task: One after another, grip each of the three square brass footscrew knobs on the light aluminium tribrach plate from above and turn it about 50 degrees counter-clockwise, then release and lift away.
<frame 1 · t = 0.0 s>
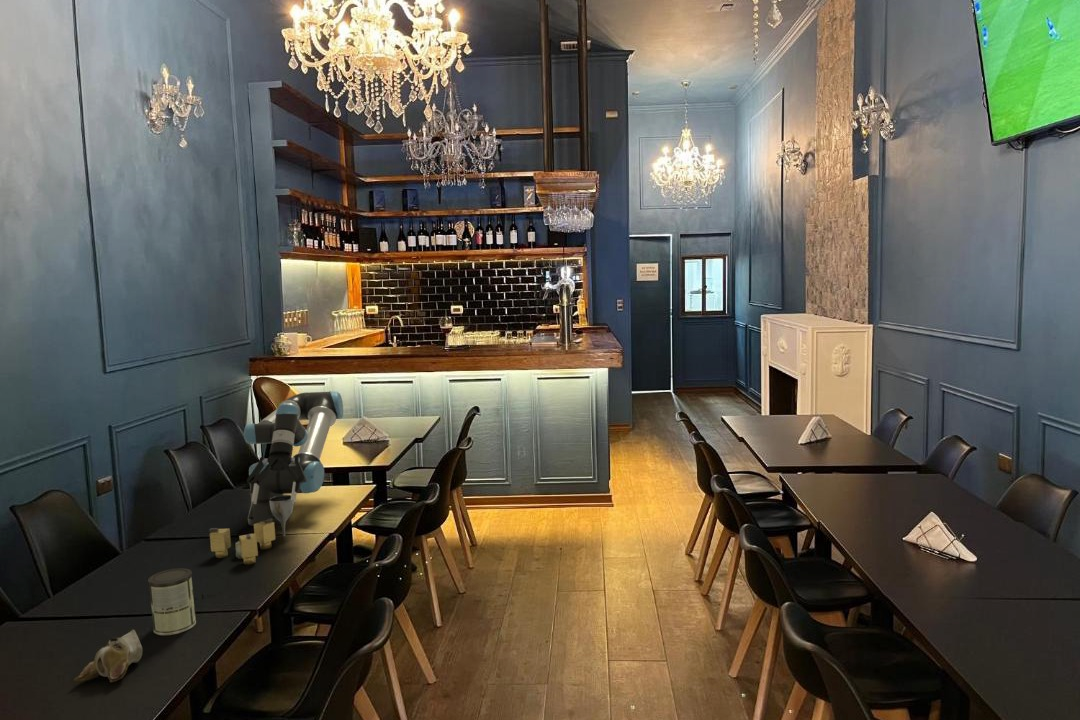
hand: (273, 502, 265), 15 cm above the table, tool tilted 35°, fingers open, 13 cm apart
ceramic sculpture: (116, 674, 180), on the table
knob c: (219, 542, 253), point 6 cm above the table, hinge at 0.0°
coffee can: (175, 627, 204), on the table
grey funnel: (284, 540, 272), on the table
knob a: (248, 548, 246), point 6 cm above the table, hinge at 0.0°
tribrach: (246, 559, 254), on the table
knob b: (265, 533, 260), point 6 cm above the table, hinge at 0.0°
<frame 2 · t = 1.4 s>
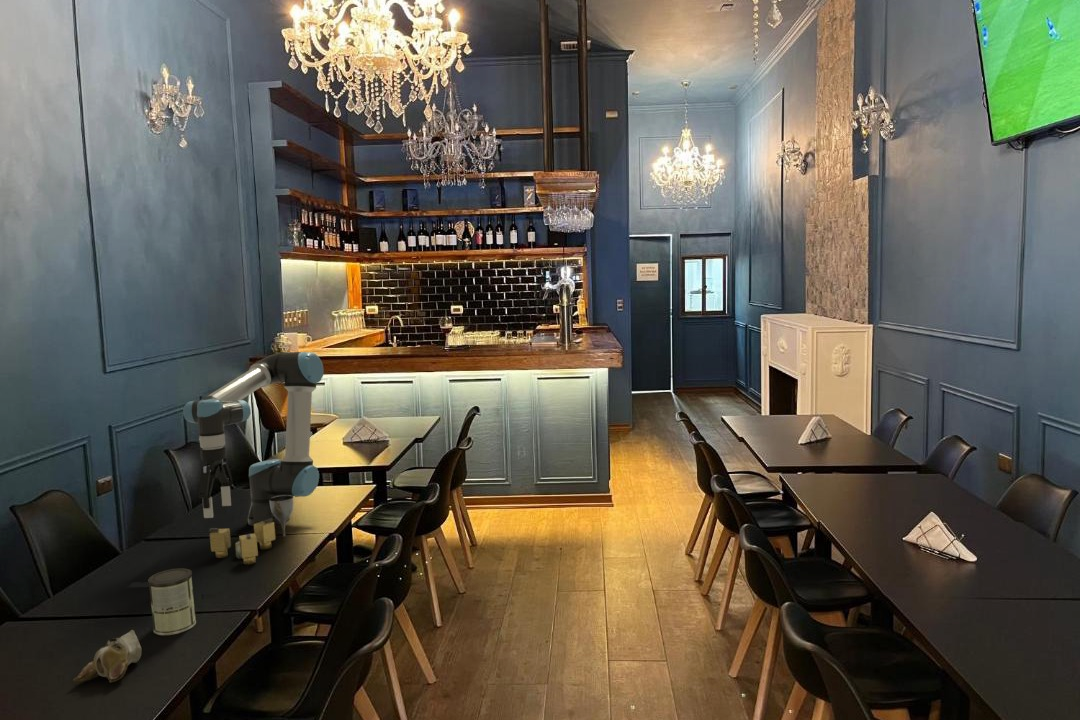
hand: (218, 511, 252), 16 cm above the table, tool pointing down, fingers open, 13 cm apart
nothing on the table moved.
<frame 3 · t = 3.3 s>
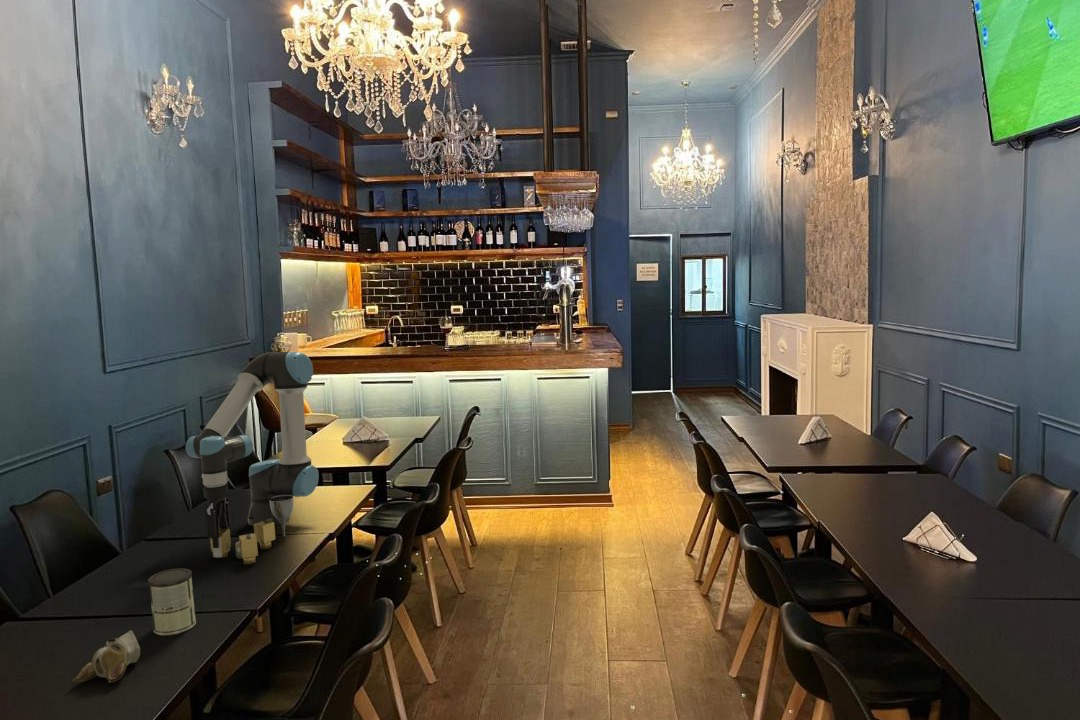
hand: (221, 553, 254), 2 cm above the table, tool pointing down, fingers closed on knob c, 5 cm apart
knob c: (219, 542, 253), point 6 cm above the table, hinge at 0.0°, touching gripper
everything else where it was.
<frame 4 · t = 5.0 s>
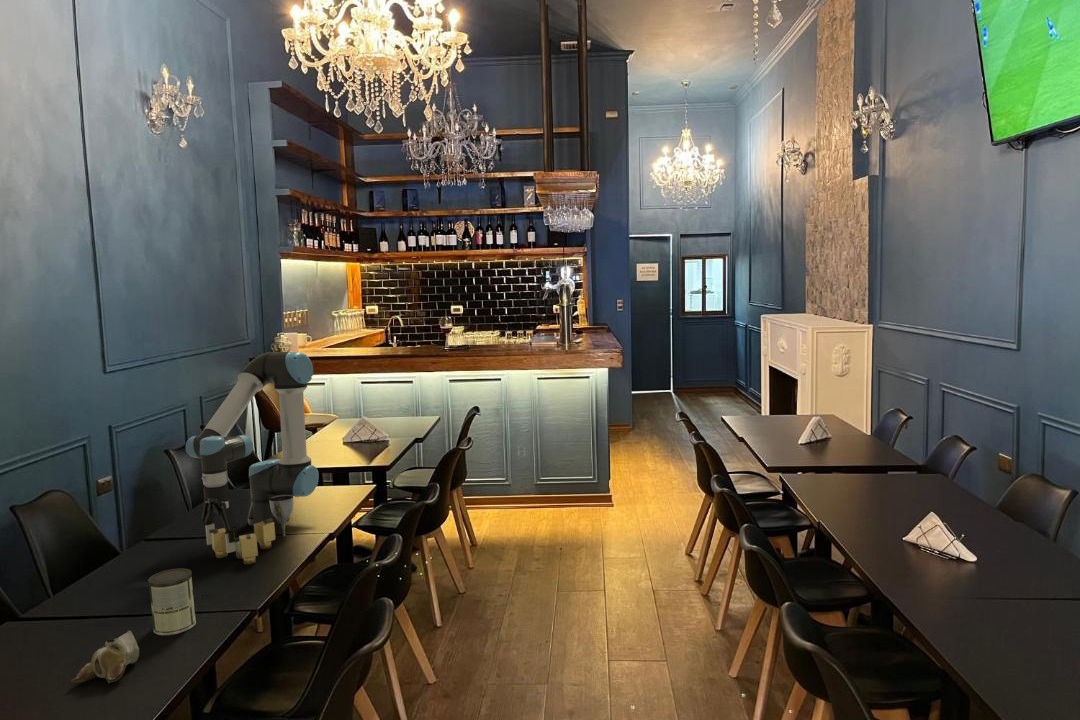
hand: (221, 547, 253), 4 cm above the table, tool pointing down, fingers open, 13 cm apart
knob c: (219, 542, 253), point 6 cm above the table, hinge at 33.8°
everything else where it was.
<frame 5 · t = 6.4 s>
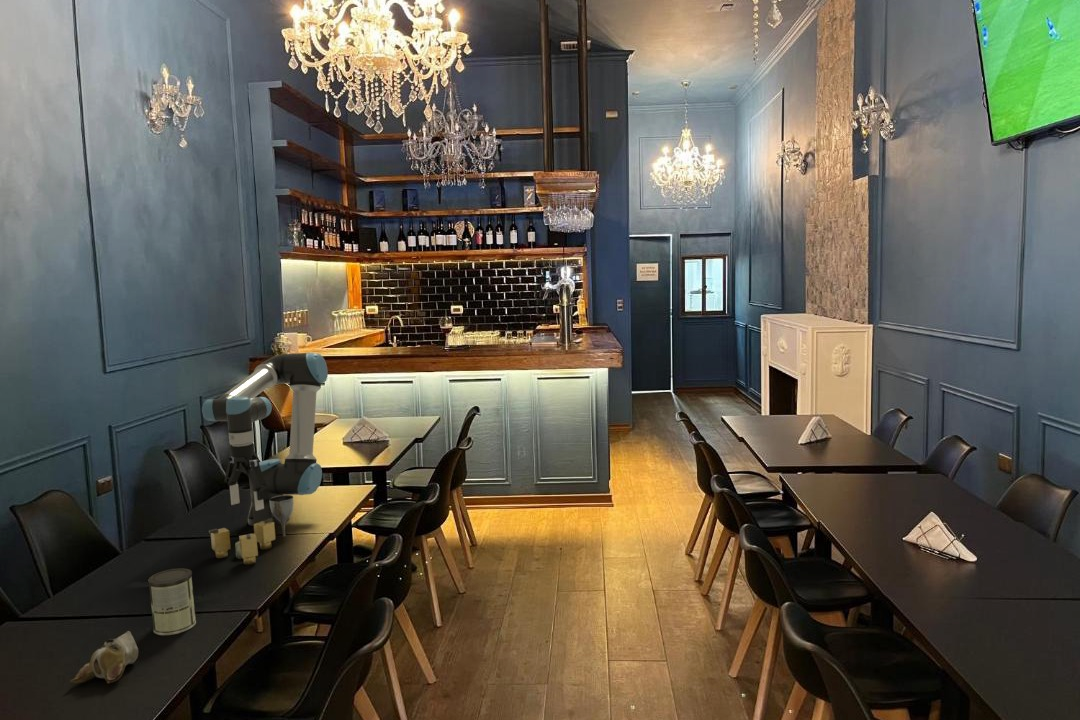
hand: (247, 506, 257), 16 cm above the table, tool pointing down, fingers open, 13 cm apart
knob c: (219, 542, 253), point 6 cm above the table, hinge at 39.0°
everything else where it was.
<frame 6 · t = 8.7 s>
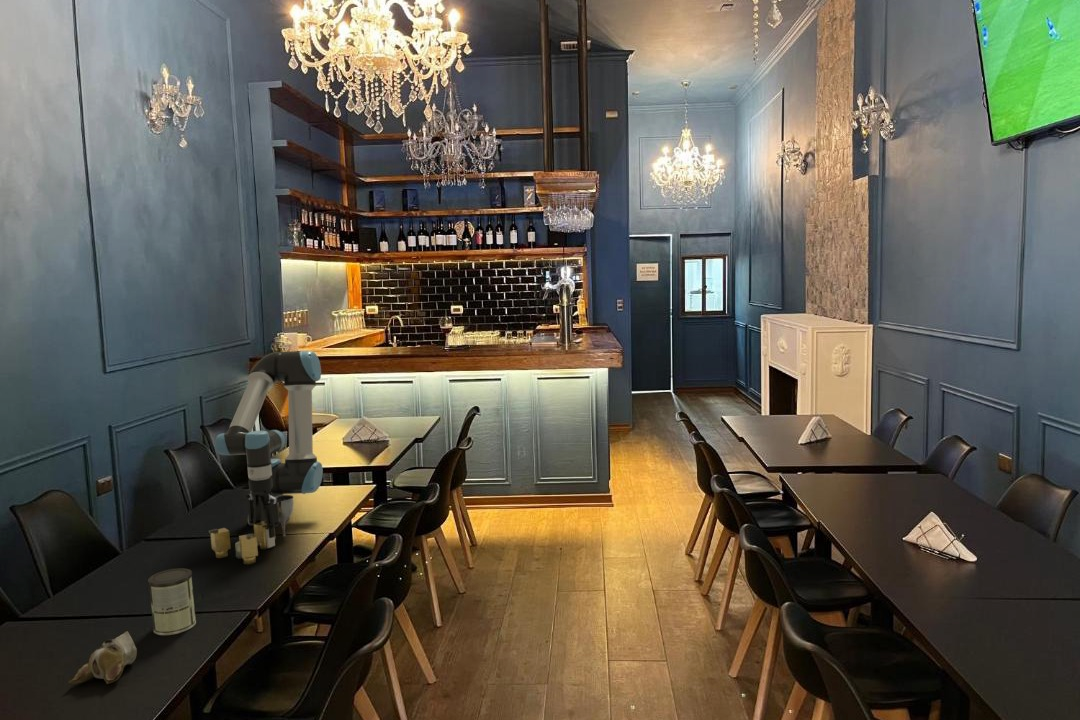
hand: (265, 545, 260), 2 cm above the table, tool pointing down, fingers closed on knob b, 5 cm apart
knob c: (219, 542, 253), point 6 cm above the table, hinge at 40.0°
knob b: (265, 533, 260), point 6 cm above the table, hinge at 0.0°, touching gripper
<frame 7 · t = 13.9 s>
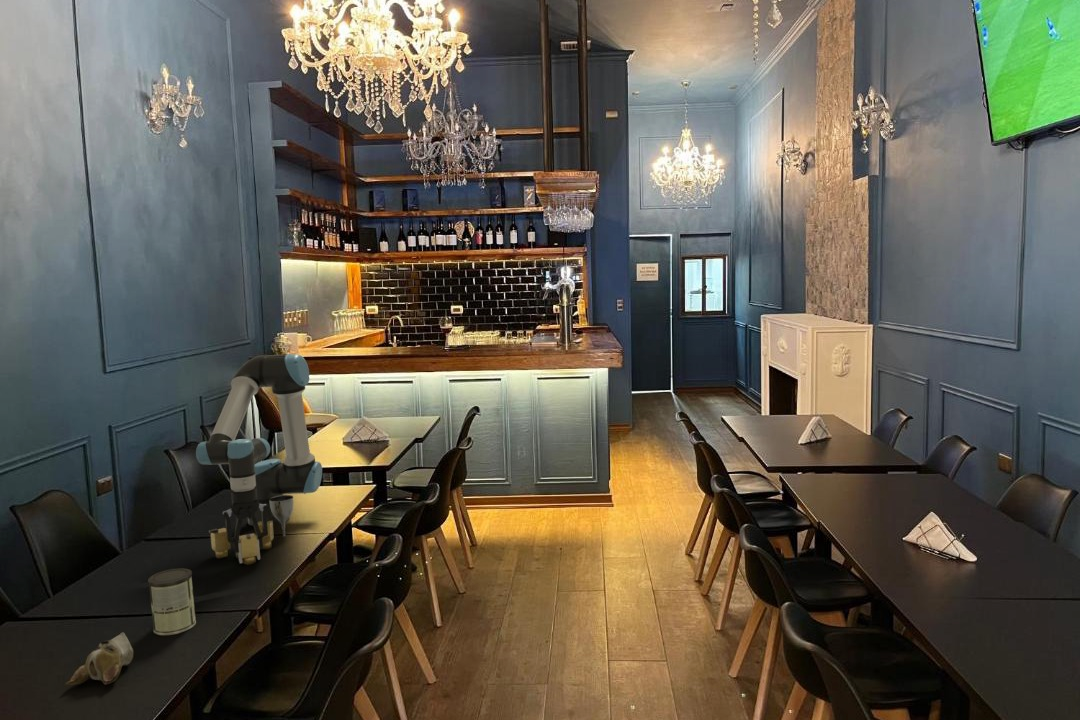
hand: (249, 559, 246), 2 cm above the table, tool pointing down, fingers closed on knob a, 5 cm apart
knob a: (248, 548, 246), point 6 cm above the table, hinge at 0.0°, touching gripper
knob b: (265, 533, 260), point 6 cm above the table, hinge at 38.4°
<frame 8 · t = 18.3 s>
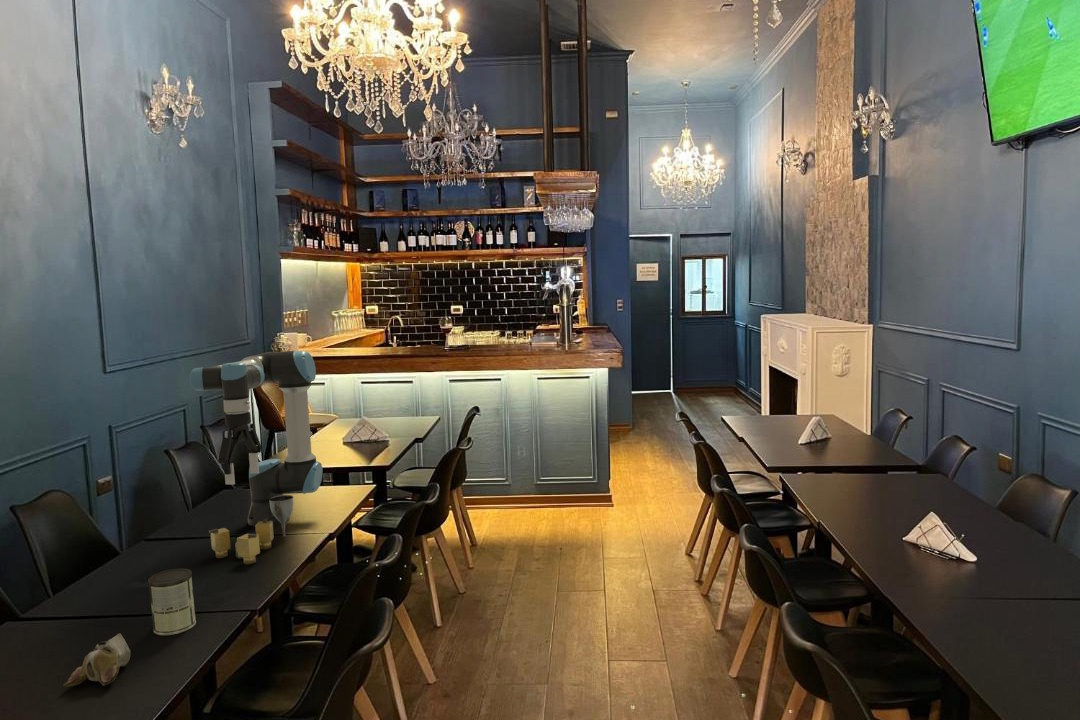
hand: (242, 478, 244), 29 cm above the table, tool pointing down, fingers open, 13 cm apart
knob a: (249, 548, 246), point 6 cm above the table, hinge at 39.4°
at the end: knob a at +40° (first picture: +0°); knob b at +38° (first picture: +0°); knob c at +40° (first picture: +0°) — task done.
